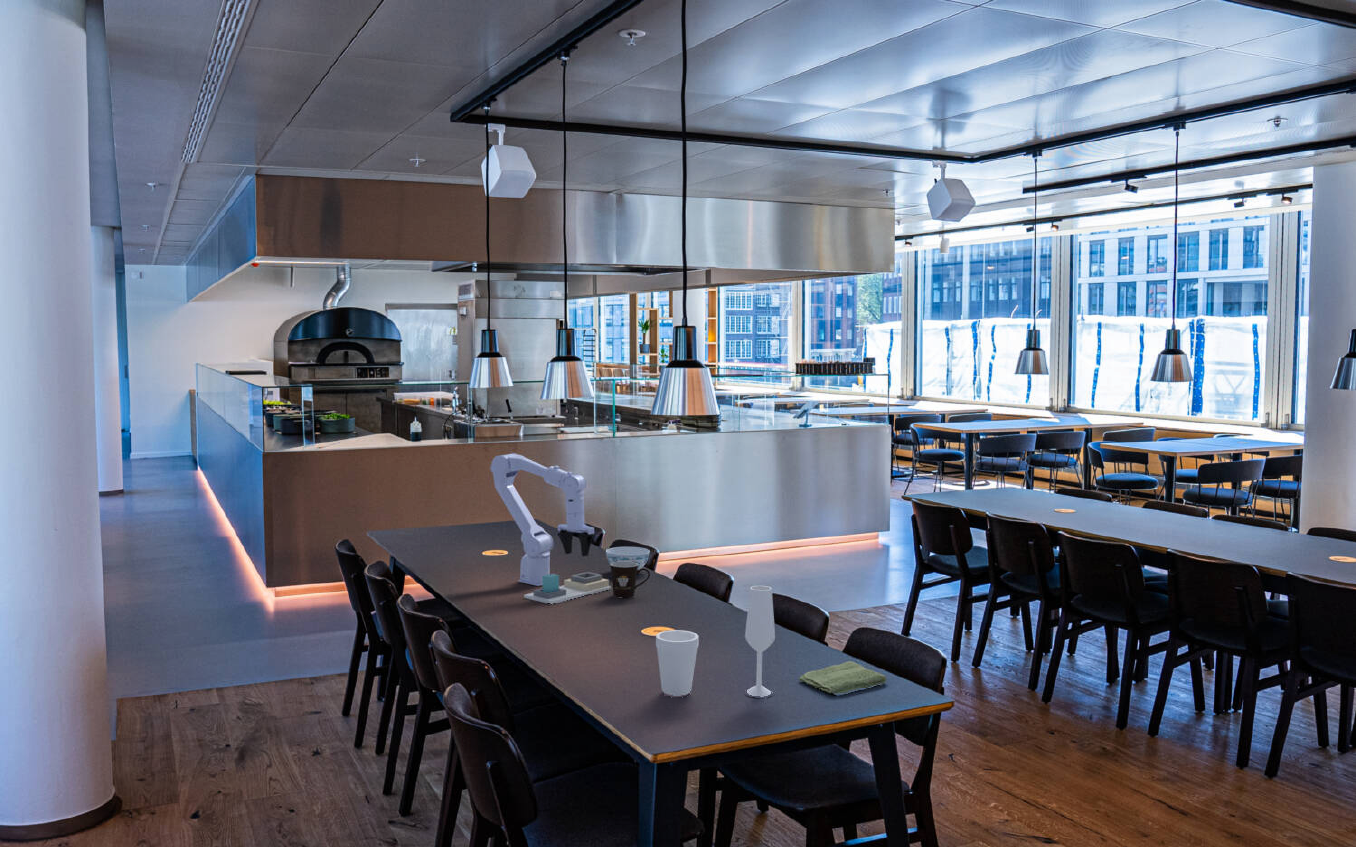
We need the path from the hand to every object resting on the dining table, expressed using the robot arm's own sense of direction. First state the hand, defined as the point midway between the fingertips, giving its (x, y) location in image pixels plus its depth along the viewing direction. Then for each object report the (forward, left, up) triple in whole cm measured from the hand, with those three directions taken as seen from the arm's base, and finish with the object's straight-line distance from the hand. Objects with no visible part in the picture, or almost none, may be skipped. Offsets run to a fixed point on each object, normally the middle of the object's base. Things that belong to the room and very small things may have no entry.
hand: (576, 554), depth 328 cm
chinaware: (-2, +26, -11) cm, 28 cm away
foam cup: (+89, -57, -11) cm, 106 cm away
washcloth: (+113, -26, -11) cm, 117 cm away
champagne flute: (+103, -45, -11) cm, 113 cm away
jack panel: (+5, -8, -10) cm, 14 cm away
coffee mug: (+21, +2, -11) cm, 23 cm away
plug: (+5, -16, -9) cm, 19 cm away
